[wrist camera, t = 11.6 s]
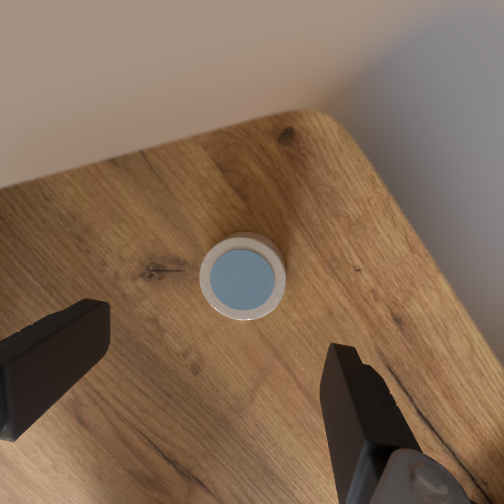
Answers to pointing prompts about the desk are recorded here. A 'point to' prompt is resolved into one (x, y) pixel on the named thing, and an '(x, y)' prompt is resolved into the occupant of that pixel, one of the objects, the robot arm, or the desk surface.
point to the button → (243, 276)
